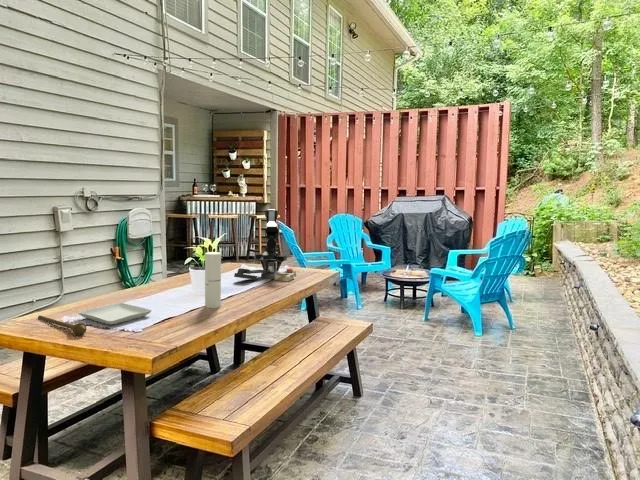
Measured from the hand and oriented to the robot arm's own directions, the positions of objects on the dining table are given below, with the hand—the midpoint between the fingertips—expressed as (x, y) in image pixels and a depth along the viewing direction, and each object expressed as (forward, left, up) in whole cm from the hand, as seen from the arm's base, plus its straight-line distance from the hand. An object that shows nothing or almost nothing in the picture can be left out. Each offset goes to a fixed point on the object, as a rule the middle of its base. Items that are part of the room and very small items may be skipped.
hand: (270, 271), depth 300 cm
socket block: (+4, +3, -4) cm, 6 cm away
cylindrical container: (+1, -76, -4) cm, 76 cm away
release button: (+9, +8, -3) cm, 13 cm away
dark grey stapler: (-7, -14, -3) cm, 16 cm away
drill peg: (0, -1, -4) cm, 4 cm away
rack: (+10, -4, -4) cm, 11 cm away
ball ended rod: (-37, -126, -4) cm, 131 cm away
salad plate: (-27, -108, -4) cm, 111 cm away
